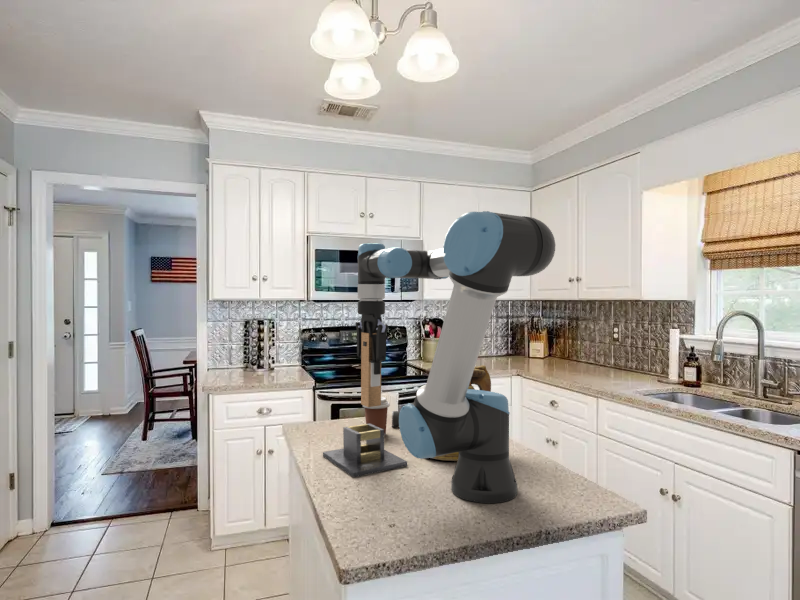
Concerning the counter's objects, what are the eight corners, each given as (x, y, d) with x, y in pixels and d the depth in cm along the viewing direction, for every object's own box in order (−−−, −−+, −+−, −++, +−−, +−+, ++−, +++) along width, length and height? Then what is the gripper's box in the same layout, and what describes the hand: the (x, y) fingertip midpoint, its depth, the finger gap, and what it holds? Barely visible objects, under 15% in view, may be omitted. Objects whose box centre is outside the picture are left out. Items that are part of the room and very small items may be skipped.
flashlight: (434, 424, 174) (434, 409, 174) (435, 428, 169) (435, 413, 169) (392, 424, 175) (392, 409, 175) (391, 428, 169) (391, 413, 169)
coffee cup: (357, 433, 162) (357, 398, 162) (379, 429, 168) (379, 394, 168) (372, 439, 155) (372, 402, 155) (395, 435, 160) (395, 398, 160)
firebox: (407, 465, 130) (406, 432, 130) (353, 477, 121) (353, 441, 121) (372, 447, 147) (371, 417, 147) (323, 456, 138) (322, 424, 138)
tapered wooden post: (380, 405, 133) (381, 332, 132) (367, 407, 130) (368, 333, 130) (373, 402, 136) (373, 331, 136) (360, 404, 133) (360, 332, 133)
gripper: (400, 300, 128) (399, 388, 128) (367, 299, 142) (366, 378, 142) (376, 300, 123) (375, 391, 124) (344, 299, 137) (344, 381, 138)
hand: (370, 384), depth 133 cm, fingers closed on tapered wooden post, 4 cm apart
